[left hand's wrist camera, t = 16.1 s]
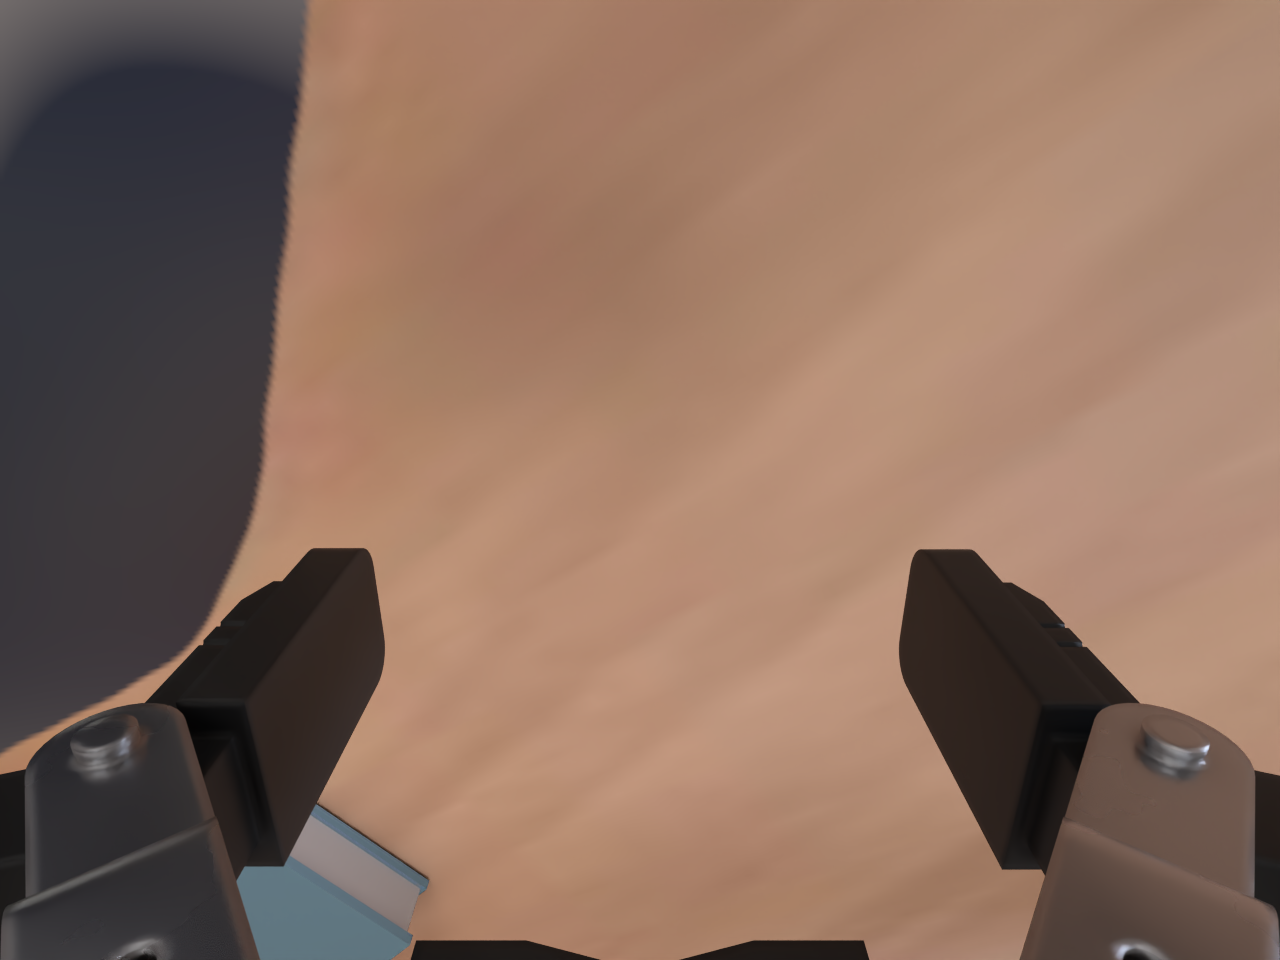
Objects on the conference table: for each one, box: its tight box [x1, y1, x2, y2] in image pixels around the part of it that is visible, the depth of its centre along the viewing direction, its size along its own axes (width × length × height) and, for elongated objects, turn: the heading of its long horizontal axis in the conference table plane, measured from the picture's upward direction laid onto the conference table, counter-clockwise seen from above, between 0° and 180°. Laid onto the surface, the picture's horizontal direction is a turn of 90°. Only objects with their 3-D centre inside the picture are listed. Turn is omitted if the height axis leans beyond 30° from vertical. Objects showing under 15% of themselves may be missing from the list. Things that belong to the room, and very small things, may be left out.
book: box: [236, 804, 429, 960], centre depth 54 cm, size 23×16×5 cm
